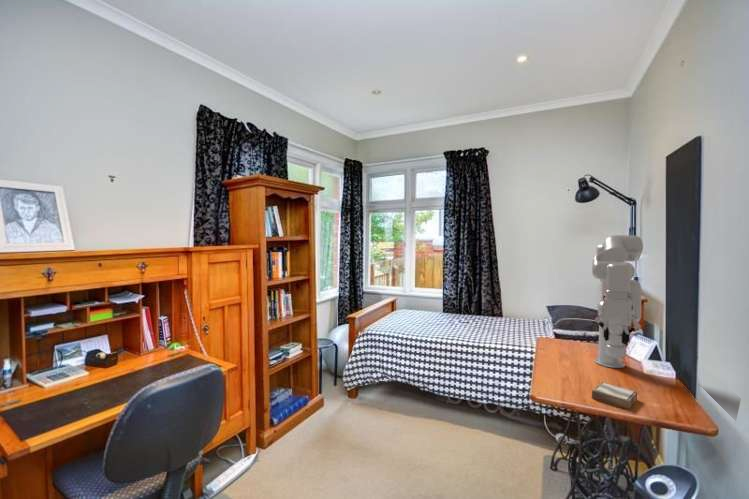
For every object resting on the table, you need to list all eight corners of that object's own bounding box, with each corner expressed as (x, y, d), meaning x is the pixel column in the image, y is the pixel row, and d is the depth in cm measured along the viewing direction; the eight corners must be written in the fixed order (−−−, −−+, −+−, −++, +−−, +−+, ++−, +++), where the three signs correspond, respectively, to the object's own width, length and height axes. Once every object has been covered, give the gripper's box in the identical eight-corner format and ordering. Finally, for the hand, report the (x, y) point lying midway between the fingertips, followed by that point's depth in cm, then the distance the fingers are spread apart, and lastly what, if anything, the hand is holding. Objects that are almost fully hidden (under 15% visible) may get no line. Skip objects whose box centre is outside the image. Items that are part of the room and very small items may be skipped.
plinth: (601, 389, 147) (602, 381, 147) (636, 399, 138) (637, 391, 138) (591, 398, 139) (592, 390, 139) (628, 409, 130) (628, 400, 130)
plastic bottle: (626, 362, 133) (629, 309, 132) (605, 358, 137) (607, 307, 136) (625, 356, 139) (627, 306, 138) (605, 353, 142) (606, 304, 141)
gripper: (647, 297, 133) (645, 345, 133) (595, 291, 145) (594, 335, 146) (642, 299, 128) (640, 349, 128) (589, 293, 141) (588, 338, 141)
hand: (616, 341), depth 137 cm, fingers closed on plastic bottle, 5 cm apart
